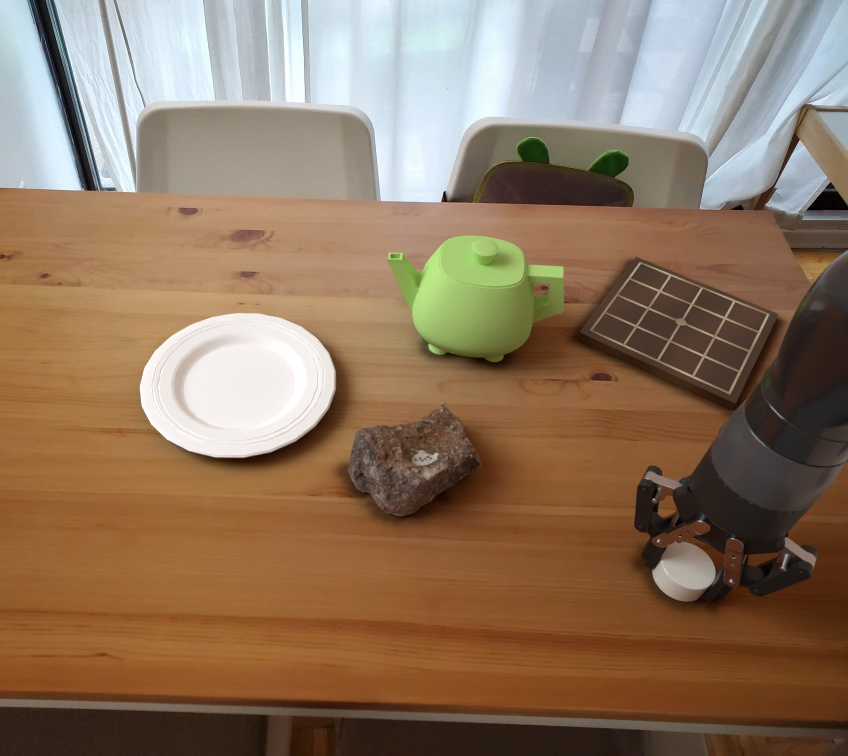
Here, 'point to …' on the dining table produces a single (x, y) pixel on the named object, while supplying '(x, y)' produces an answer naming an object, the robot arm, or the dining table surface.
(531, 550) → the dining table surface
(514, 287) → the teapot
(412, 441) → the rock
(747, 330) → the board
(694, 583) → the white cylindrical puck
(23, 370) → the dining table surface
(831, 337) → the robot arm
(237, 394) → the plate
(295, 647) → the dining table surface
